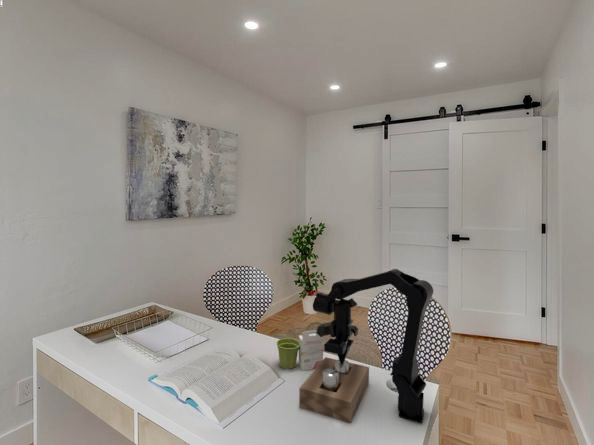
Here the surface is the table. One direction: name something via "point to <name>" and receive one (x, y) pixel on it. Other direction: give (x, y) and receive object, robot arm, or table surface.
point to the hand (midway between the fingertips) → (341, 362)
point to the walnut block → (335, 402)
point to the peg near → (330, 380)
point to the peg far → (342, 367)
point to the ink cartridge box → (310, 350)
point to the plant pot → (288, 352)
